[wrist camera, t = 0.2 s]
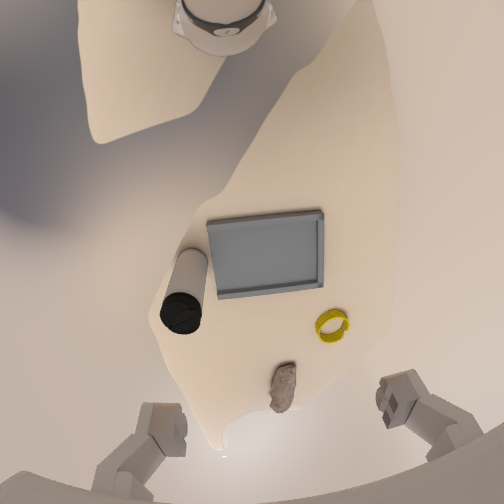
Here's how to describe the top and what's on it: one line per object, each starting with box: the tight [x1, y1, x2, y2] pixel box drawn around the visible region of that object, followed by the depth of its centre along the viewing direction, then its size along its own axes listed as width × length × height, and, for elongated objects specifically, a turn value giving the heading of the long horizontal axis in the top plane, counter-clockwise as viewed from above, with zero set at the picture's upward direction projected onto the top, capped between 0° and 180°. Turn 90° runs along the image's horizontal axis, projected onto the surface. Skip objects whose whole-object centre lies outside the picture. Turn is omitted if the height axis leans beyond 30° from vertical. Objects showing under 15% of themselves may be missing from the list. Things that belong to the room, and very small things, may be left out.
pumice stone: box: [270, 365, 296, 413], centre depth 72 cm, size 15×8×10 cm, turn 173°
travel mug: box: [160, 248, 208, 334], centre depth 51 cm, size 6×7×20 cm
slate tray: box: [206, 210, 324, 300], centre depth 60 cm, size 16×22×2 cm
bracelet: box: [316, 309, 350, 343], centre depth 68 cm, size 7×8×3 cm
